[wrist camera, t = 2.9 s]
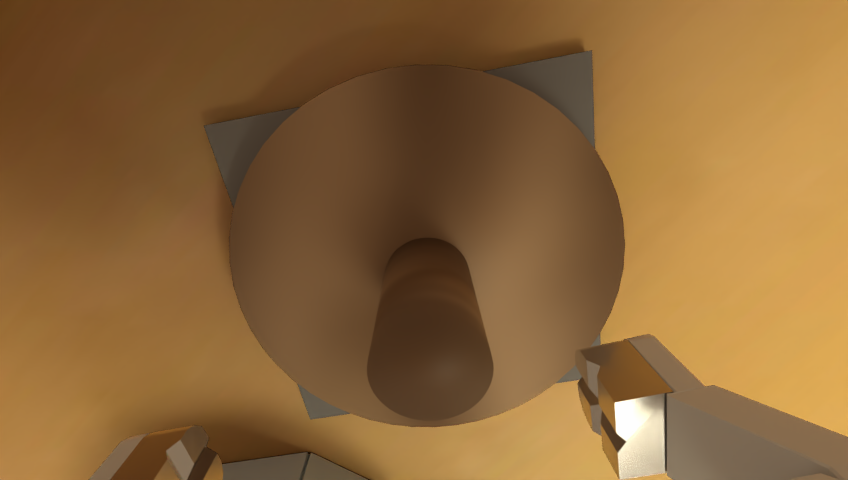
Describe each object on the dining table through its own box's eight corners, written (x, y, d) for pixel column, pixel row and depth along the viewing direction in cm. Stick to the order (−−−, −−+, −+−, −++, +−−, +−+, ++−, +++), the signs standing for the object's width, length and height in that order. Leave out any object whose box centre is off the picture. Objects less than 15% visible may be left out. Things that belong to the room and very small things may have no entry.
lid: (610, 26, 11) (768, -25, 6) (614, 385, 15) (709, 529, 10) (180, 110, 11) (0, 127, 6) (301, 430, 16) (247, 586, 11)
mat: (586, 51, 11) (591, 50, 11) (596, 369, 15) (601, 376, 15) (210, 124, 12) (203, 125, 11) (313, 411, 16) (310, 419, 15)
